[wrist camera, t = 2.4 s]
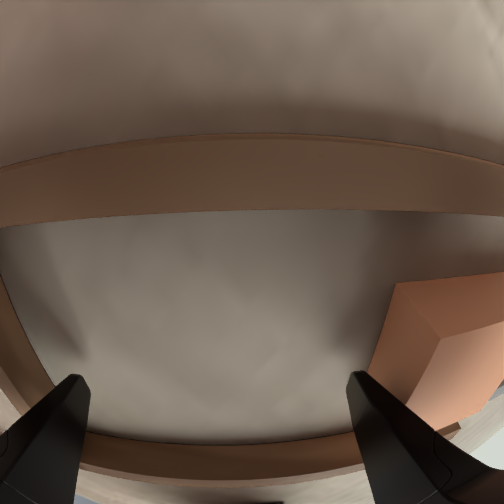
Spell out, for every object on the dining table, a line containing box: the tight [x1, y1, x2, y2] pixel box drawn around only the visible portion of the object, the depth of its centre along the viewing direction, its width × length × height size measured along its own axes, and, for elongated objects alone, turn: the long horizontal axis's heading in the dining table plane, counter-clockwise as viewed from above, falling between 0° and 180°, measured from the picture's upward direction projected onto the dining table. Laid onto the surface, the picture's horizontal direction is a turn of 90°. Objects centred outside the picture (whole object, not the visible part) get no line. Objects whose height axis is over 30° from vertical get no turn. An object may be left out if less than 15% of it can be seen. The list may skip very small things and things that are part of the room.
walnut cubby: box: [0, 133, 504, 488], centre depth 9 cm, size 14×21×2 cm
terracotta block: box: [367, 272, 504, 431], centre depth 9 cm, size 6×6×3 cm
